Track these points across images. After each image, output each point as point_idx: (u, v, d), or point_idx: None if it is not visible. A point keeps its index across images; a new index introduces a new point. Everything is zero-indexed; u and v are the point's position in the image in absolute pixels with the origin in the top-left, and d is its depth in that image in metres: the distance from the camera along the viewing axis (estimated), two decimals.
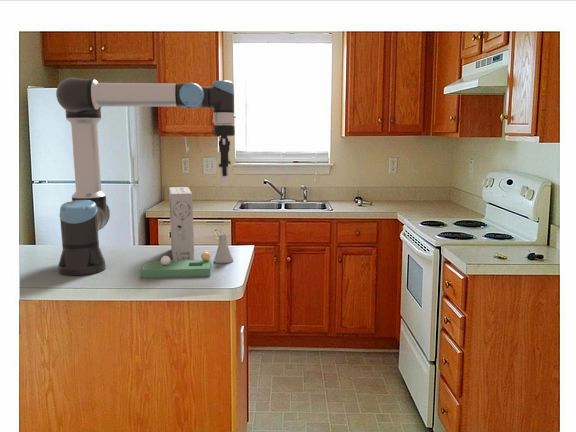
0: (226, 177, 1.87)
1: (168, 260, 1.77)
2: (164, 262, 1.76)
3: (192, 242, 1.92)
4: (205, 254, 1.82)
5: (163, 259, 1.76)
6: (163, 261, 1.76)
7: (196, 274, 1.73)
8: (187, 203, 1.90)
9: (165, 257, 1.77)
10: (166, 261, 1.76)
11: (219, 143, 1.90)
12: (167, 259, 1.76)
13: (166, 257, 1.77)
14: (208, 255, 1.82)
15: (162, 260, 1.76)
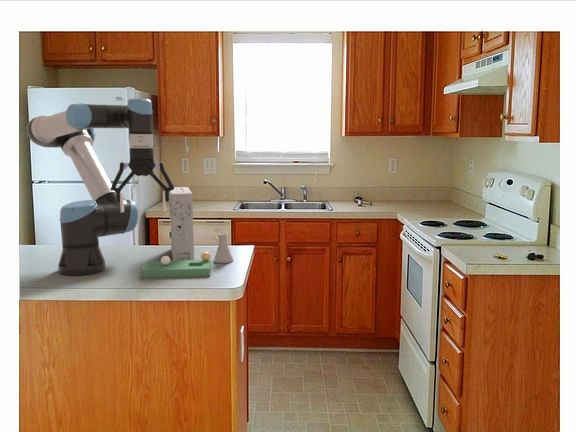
0: None
1: (168, 260, 1.77)
2: (164, 262, 1.76)
3: (192, 242, 1.92)
4: (205, 254, 1.82)
5: (163, 259, 1.76)
6: (163, 261, 1.76)
7: (196, 274, 1.73)
8: (187, 203, 1.90)
9: (165, 257, 1.77)
10: (166, 261, 1.76)
11: None
12: (167, 259, 1.76)
13: (166, 257, 1.77)
14: (208, 255, 1.82)
15: (162, 260, 1.76)
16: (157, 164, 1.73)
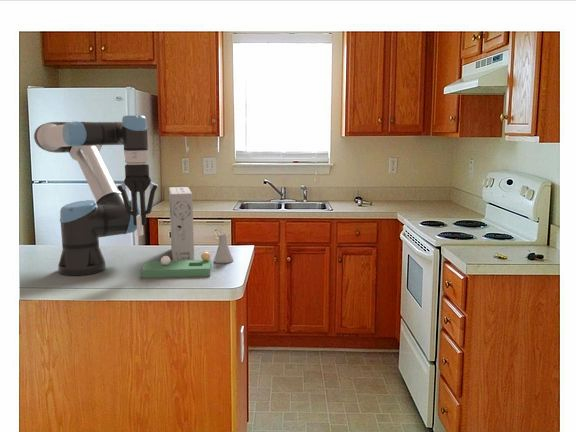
0: None
1: (168, 260, 1.77)
2: (164, 262, 1.76)
3: (192, 242, 1.92)
4: (205, 254, 1.82)
5: (163, 259, 1.76)
6: (163, 261, 1.76)
7: (196, 274, 1.73)
8: (187, 203, 1.90)
9: (165, 257, 1.77)
10: (166, 261, 1.76)
11: None
12: (167, 259, 1.76)
13: (166, 257, 1.77)
14: (208, 255, 1.82)
15: (162, 260, 1.76)
16: (152, 184, 1.72)
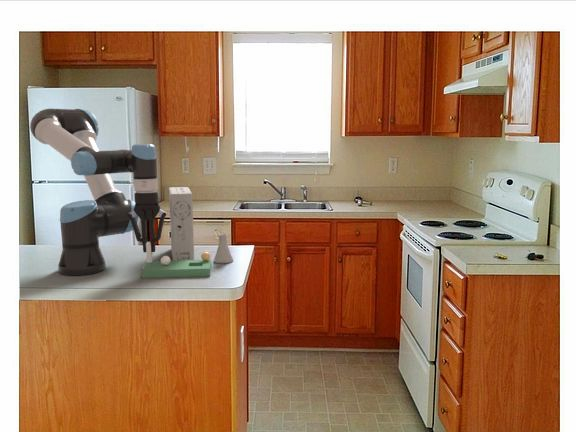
0: None
1: (168, 260, 1.77)
2: (164, 262, 1.76)
3: (192, 242, 1.92)
4: (205, 254, 1.82)
5: (163, 259, 1.76)
6: (163, 261, 1.76)
7: (196, 274, 1.73)
8: (187, 203, 1.90)
9: (165, 257, 1.77)
10: (166, 261, 1.76)
11: None
12: (167, 259, 1.76)
13: (166, 257, 1.77)
14: (208, 255, 1.82)
15: (162, 260, 1.76)
16: (161, 212, 1.74)
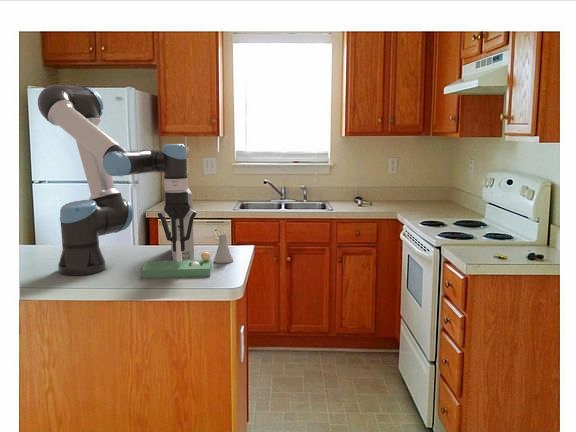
0: None
1: None
2: None
3: (192, 242, 1.92)
4: (205, 254, 1.82)
5: (194, 265, 1.77)
6: None
7: (196, 274, 1.73)
8: None
9: (196, 263, 1.78)
10: None
11: None
12: (198, 265, 1.78)
13: (197, 263, 1.78)
14: (208, 255, 1.82)
15: None
16: (191, 211, 1.75)
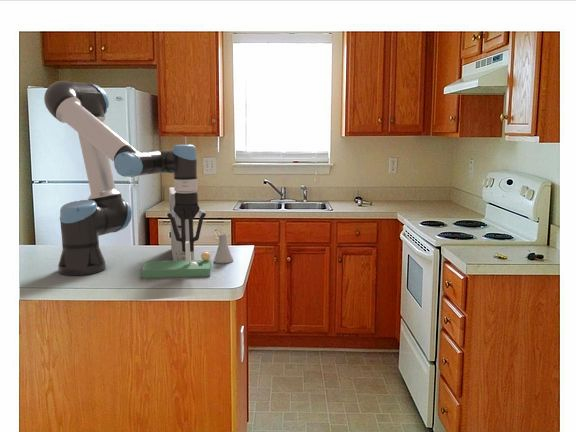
0: None
1: None
2: None
3: None
4: (205, 254, 1.82)
5: (191, 265, 1.77)
6: None
7: (196, 274, 1.73)
8: None
9: (193, 263, 1.78)
10: None
11: None
12: (195, 265, 1.77)
13: (194, 263, 1.78)
14: (208, 255, 1.82)
15: None
16: (200, 212, 1.76)
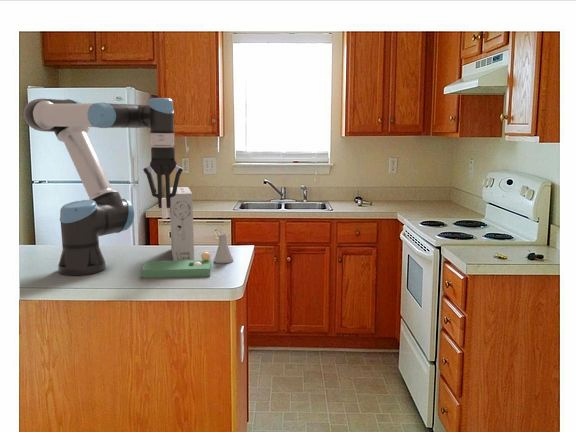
0: None
1: None
2: None
3: (192, 242, 1.92)
4: (205, 254, 1.82)
5: (197, 265, 1.77)
6: None
7: (196, 274, 1.73)
8: (187, 203, 1.90)
9: (200, 264, 1.78)
10: None
11: None
12: None
13: (201, 265, 1.78)
14: (208, 255, 1.82)
15: (196, 265, 1.77)
16: (177, 167, 1.73)
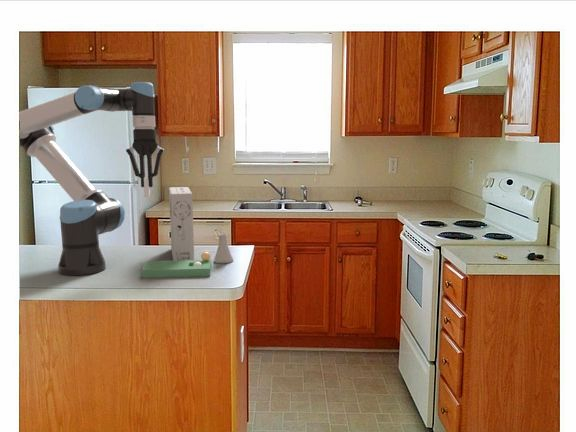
0: None
1: None
2: None
3: (192, 242, 1.92)
4: (205, 254, 1.82)
5: (197, 265, 1.77)
6: None
7: (196, 274, 1.73)
8: (187, 203, 1.90)
9: (200, 264, 1.78)
10: None
11: None
12: None
13: (200, 265, 1.78)
14: (208, 255, 1.82)
15: (196, 265, 1.77)
16: (158, 148, 1.83)
